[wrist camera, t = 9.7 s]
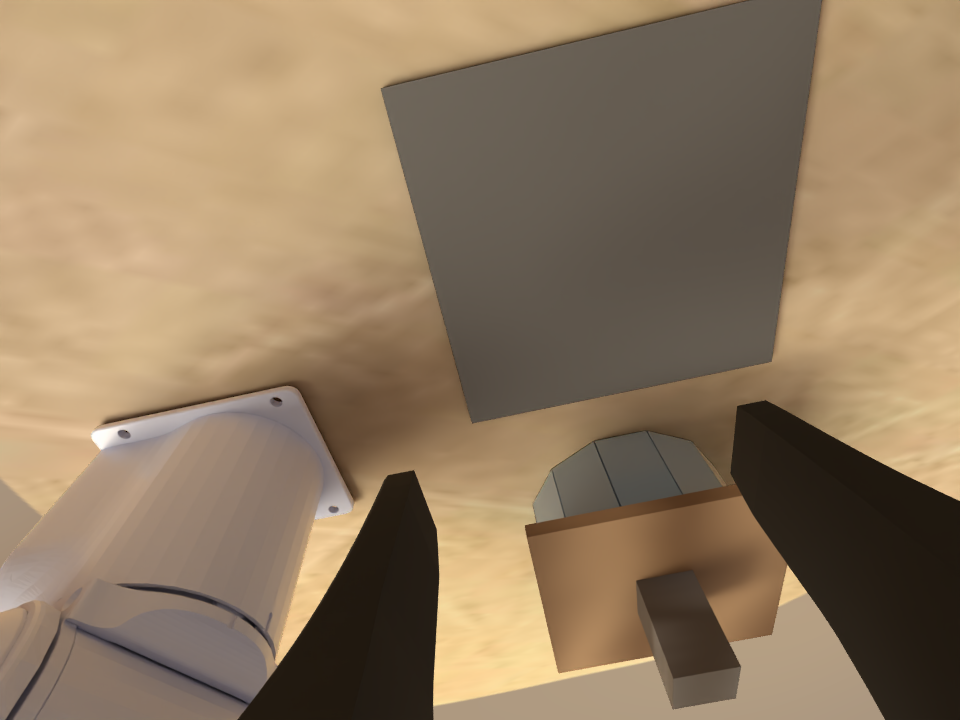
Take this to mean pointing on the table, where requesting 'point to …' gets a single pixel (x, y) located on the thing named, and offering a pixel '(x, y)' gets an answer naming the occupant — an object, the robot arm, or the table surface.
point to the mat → (611, 203)
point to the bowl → (624, 475)
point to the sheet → (645, 550)
